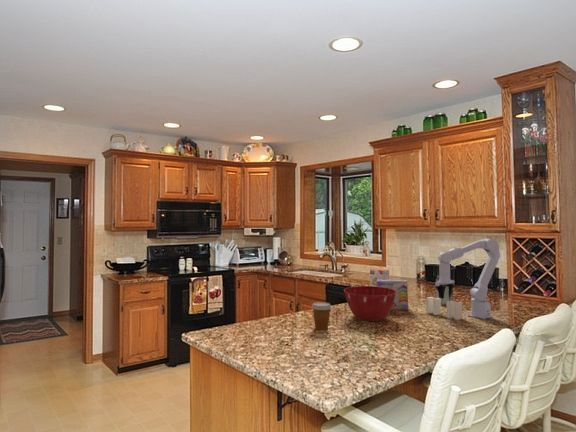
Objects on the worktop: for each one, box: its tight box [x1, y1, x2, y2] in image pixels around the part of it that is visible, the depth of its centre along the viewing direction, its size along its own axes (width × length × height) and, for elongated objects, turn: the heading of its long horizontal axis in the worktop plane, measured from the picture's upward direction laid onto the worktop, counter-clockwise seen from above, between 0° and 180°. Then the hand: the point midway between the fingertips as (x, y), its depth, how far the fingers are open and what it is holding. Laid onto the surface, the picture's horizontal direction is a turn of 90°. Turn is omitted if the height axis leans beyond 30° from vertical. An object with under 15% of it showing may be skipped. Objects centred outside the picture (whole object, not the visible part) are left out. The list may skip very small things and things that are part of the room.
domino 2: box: [432, 297, 442, 316], centre depth 229 cm, size 2×5×9 cm, turn 123°
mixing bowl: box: [343, 285, 397, 322], centre depth 220 cm, size 28×28×16 cm
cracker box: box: [369, 267, 390, 287], centre depth 273 cm, size 14×6×21 cm, turn 25°
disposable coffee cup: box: [311, 301, 332, 331], centre depth 199 cm, size 10×10×12 cm
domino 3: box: [441, 287, 449, 304], centre depth 226 cm, size 2×5×9 cm, turn 122°
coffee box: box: [435, 277, 454, 306], centre depth 258 cm, size 9×6×16 cm
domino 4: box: [446, 299, 456, 319], centre depth 221 cm, size 2×5×9 cm, turn 122°
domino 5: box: [453, 301, 463, 321], centre depth 217 cm, size 2×5×9 cm, turn 123°
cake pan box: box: [377, 279, 409, 311], centre depth 243 cm, size 19×5×18 cm, turn 76°
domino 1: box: [425, 296, 435, 314], centre depth 233 cm, size 2×5×9 cm, turn 123°
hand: (444, 297), depth 226 cm, fingers closed on domino 3, 5 cm apart
